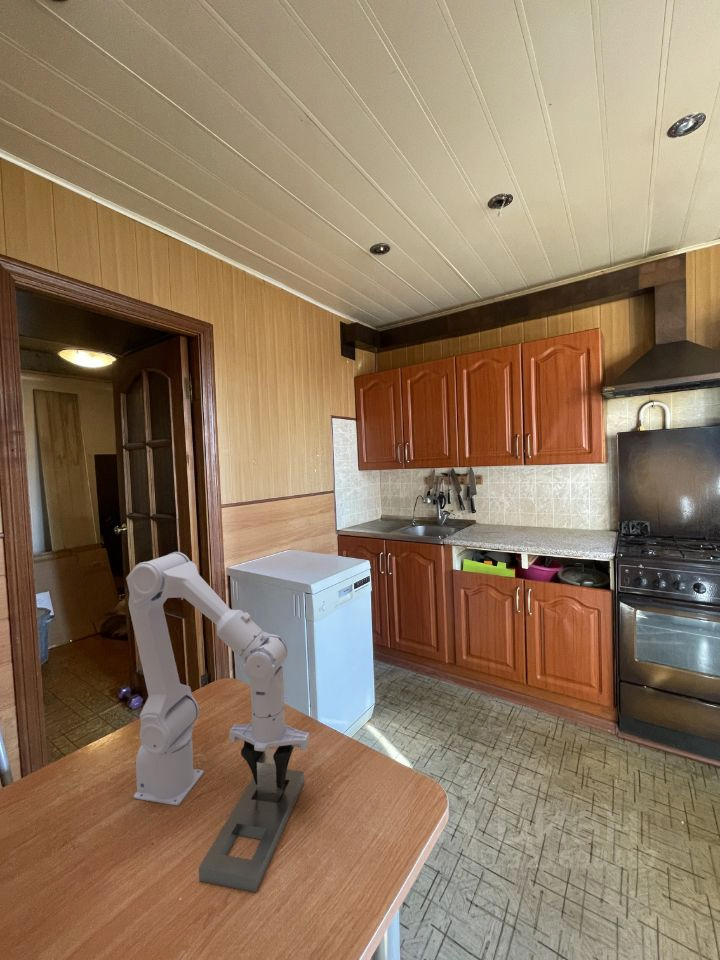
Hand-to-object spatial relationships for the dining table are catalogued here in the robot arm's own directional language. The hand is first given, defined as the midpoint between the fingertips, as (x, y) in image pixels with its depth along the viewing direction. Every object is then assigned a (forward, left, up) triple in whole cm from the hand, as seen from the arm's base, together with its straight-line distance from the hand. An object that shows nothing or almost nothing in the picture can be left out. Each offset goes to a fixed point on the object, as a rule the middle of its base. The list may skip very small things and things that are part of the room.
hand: (270, 781), depth 71 cm
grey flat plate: (0, -5, -3) cm, 6 cm away
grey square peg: (0, 0, -2) cm, 3 cm away
